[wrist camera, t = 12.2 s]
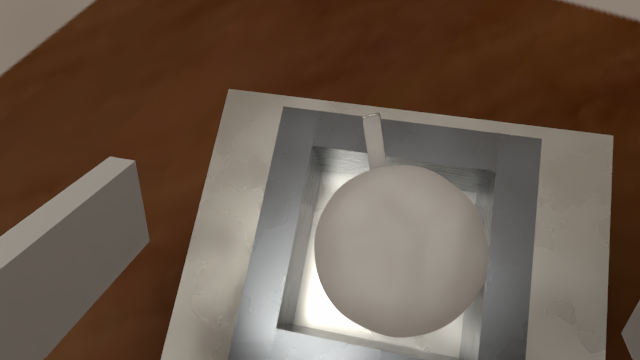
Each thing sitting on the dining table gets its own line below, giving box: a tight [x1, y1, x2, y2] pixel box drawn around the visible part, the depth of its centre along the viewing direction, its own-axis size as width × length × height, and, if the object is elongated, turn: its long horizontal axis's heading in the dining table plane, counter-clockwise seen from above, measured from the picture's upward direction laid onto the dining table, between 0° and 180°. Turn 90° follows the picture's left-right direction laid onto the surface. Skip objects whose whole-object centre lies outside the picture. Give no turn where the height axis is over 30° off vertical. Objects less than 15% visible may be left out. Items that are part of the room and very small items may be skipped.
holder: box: [161, 89, 613, 360], centre depth 19 cm, size 18×14×5 cm
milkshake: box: [314, 113, 489, 337], centre depth 15 cm, size 4×5×10 cm
